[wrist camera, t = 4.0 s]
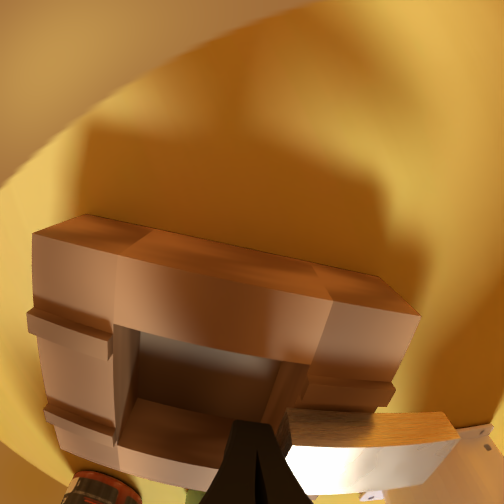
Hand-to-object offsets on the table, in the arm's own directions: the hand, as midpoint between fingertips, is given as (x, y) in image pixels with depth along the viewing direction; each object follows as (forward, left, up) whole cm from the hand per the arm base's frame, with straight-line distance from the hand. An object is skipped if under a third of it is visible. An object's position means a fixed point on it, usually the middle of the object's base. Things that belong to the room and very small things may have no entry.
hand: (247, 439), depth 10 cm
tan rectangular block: (-5, 0, 0) cm, 5 cm away
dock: (+2, 0, -5) cm, 5 cm away
